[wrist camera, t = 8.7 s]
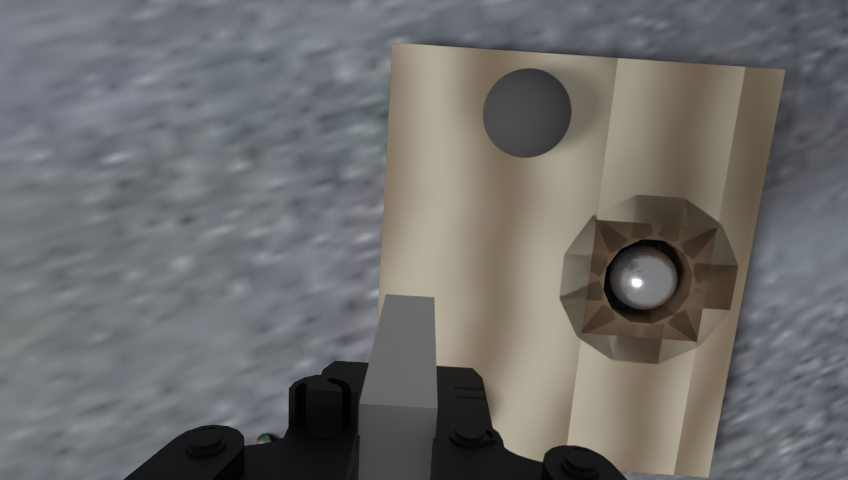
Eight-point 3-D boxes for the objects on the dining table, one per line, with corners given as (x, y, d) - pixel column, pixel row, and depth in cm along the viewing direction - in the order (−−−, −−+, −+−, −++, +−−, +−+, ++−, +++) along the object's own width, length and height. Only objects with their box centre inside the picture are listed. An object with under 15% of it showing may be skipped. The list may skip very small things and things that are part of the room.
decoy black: (483, 70, 27) (491, 59, 23) (565, 76, 27) (587, 66, 23) (476, 153, 27) (482, 156, 23) (555, 158, 27) (575, 163, 23)
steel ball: (610, 237, 31) (611, 254, 28) (675, 240, 30) (684, 258, 27) (606, 293, 32) (607, 316, 29) (670, 297, 31) (678, 322, 28)
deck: (375, 428, 33) (370, 451, 31) (396, 50, 29) (392, 42, 26) (688, 451, 33) (708, 477, 31) (756, 74, 29) (785, 69, 26)
